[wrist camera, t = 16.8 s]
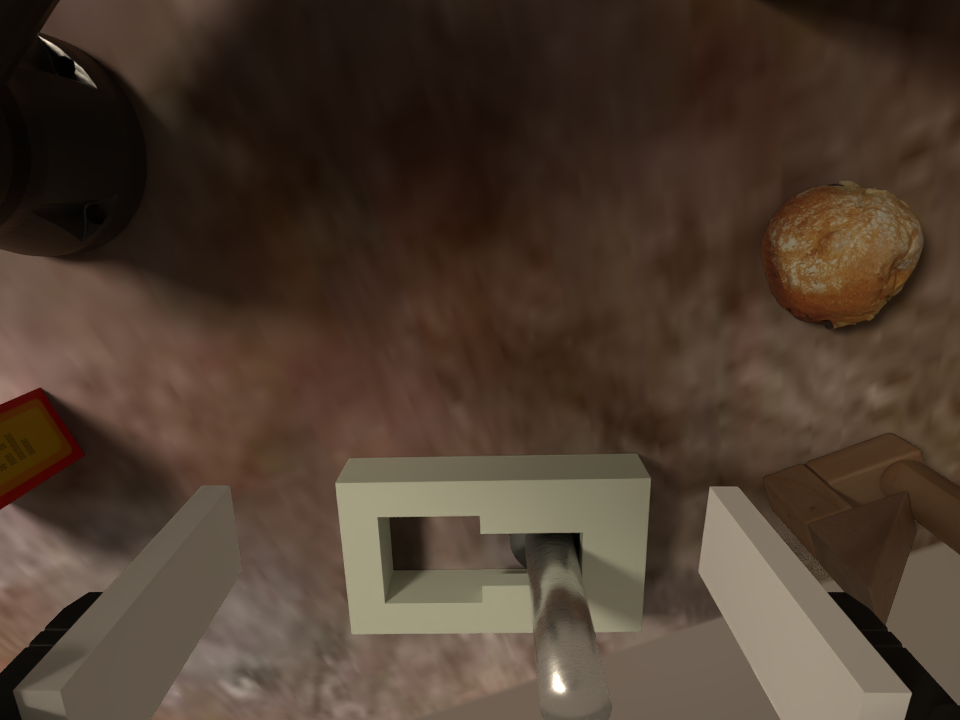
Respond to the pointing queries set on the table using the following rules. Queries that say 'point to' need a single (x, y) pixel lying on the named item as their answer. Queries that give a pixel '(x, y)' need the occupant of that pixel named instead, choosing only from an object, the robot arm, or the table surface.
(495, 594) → the keyhole plate
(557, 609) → the headed peg
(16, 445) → the baking soda box
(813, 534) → the brown multi-part fixture
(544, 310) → the table surface
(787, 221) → the bread roll
